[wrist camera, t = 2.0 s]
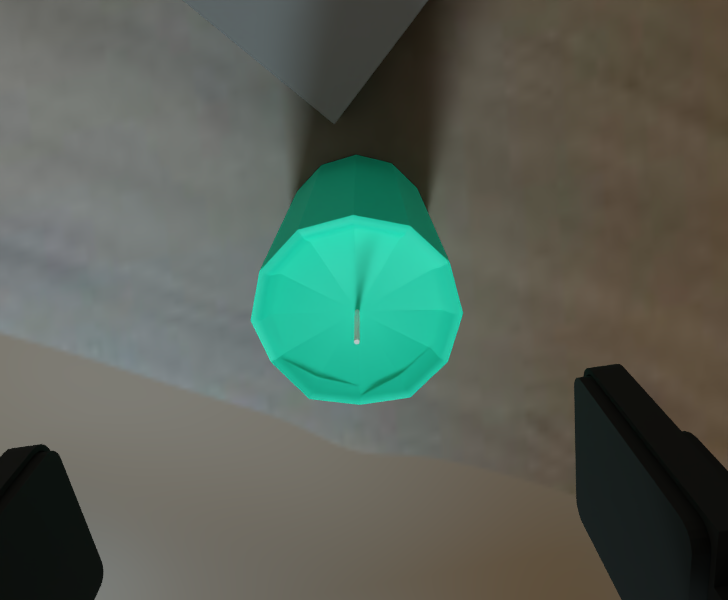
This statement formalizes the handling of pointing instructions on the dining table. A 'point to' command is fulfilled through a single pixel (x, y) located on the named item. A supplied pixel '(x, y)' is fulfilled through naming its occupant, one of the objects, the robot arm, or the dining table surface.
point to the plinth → (314, 41)
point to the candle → (357, 287)
